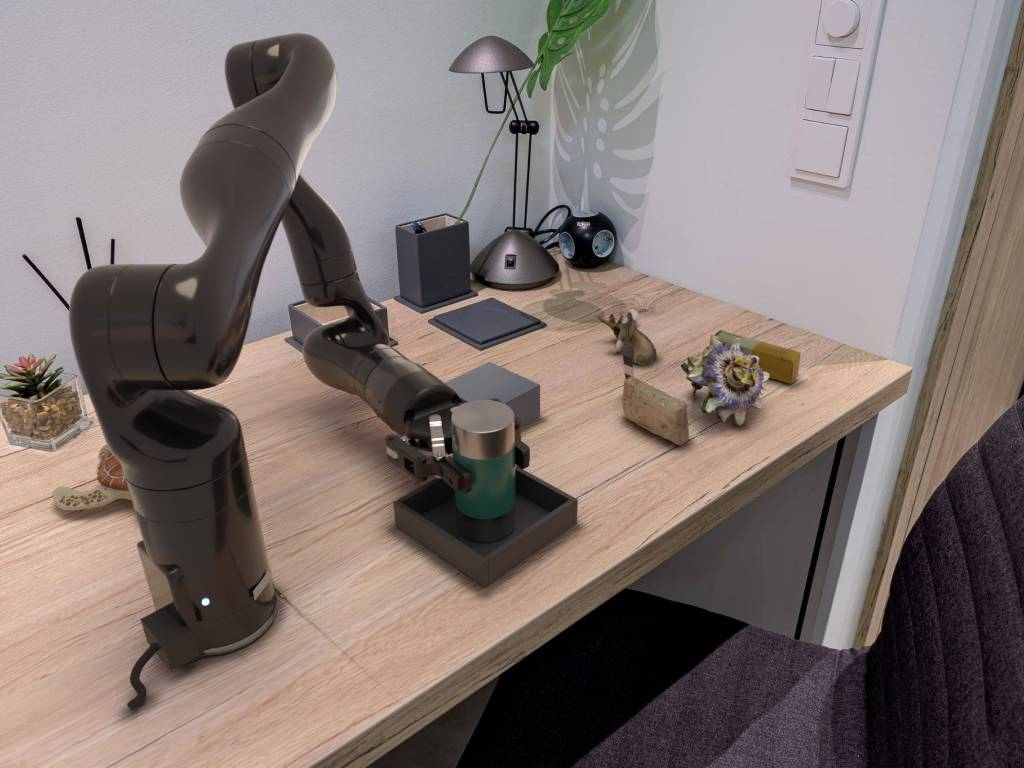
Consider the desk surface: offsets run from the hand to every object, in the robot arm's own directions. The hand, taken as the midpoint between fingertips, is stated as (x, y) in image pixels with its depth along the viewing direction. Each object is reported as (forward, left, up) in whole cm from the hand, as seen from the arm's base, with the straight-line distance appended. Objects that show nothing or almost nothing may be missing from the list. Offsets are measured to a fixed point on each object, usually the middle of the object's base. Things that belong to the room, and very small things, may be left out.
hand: (498, 472), depth 79 cm
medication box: (+50, 0, -9) cm, 50 cm away
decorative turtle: (-21, +35, -9) cm, 42 cm away
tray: (0, +2, -8) cm, 9 cm away
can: (0, +2, -8) cm, 8 cm away
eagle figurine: (+42, +16, -9) cm, 46 cm away
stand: (+15, +17, -8) cm, 25 cm away
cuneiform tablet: (+29, +2, -9) cm, 30 cm away
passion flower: (+37, -2, -9) cm, 38 cm away
